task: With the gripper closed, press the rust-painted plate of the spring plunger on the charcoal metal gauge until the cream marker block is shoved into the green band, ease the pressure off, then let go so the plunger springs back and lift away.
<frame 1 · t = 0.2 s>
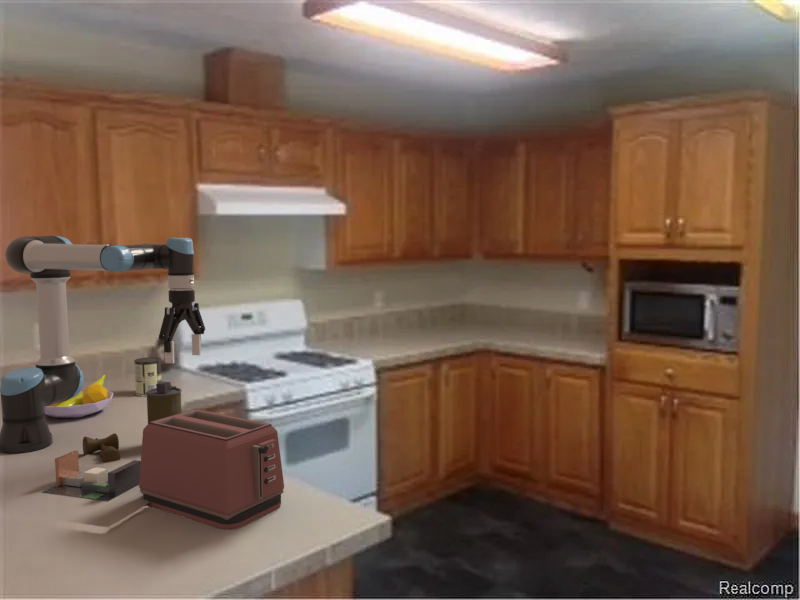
hand: (183, 359, 214), 28 cm above the countertop, tool pointing down, fingers open, 13 cm apart
fruit bowl: (77, 413, 258), on the countertop
marker: (96, 485, 182), point 1 cm above the countertop, touching gauge
kendama: (104, 457, 209), on the countertop
coffee can: (148, 394, 288), on the countertop
gauge: (96, 490, 183), on the countertop
plunger: (75, 469, 184), point 5 cm above the countertop, slide at 0.0 cm
canister: (166, 446, 220), on the countertop
toaster: (214, 505, 174), on the countertop
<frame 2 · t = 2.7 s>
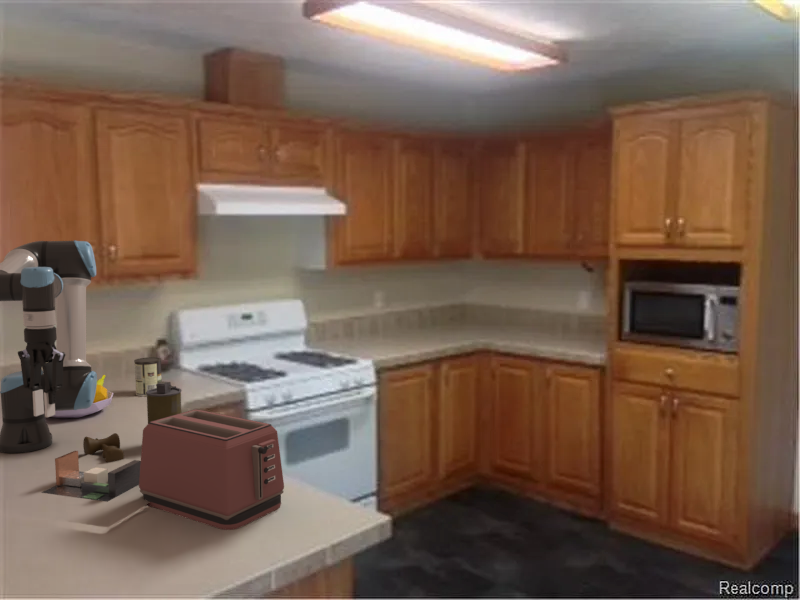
hand: (44, 415, 185), 19 cm above the countertop, tool pointing down, fingers open, 3 cm apart
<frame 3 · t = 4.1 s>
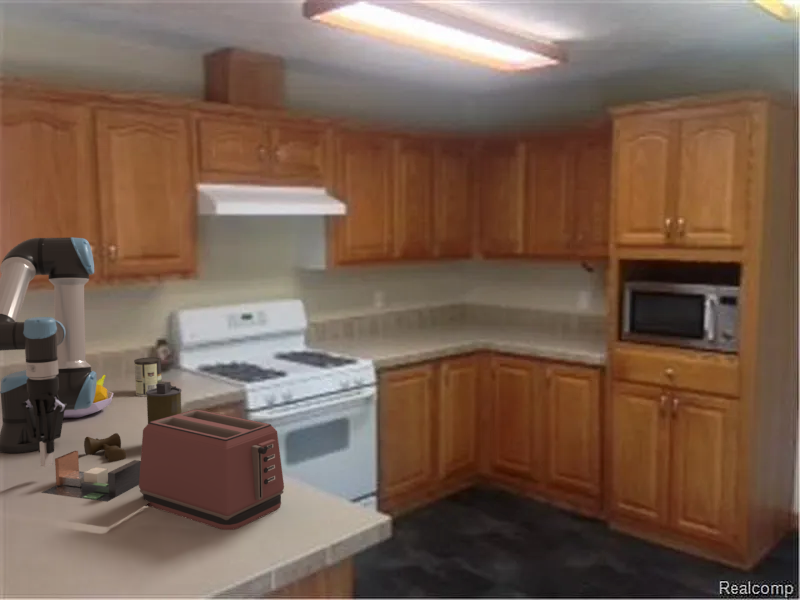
hand: (47, 464, 186), 5 cm above the countertop, tool pointing down, fingers closed
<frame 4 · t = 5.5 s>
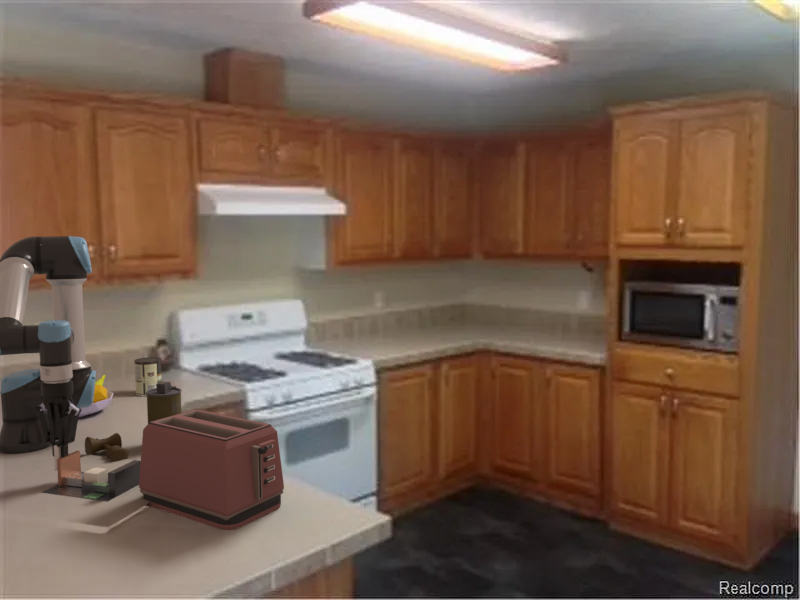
hand: (61, 468, 185), 5 cm above the countertop, tool pointing down, fingers closed
plunger: (77, 469, 184), point 5 cm above the countertop, slide at 0.6 cm, touching gripper
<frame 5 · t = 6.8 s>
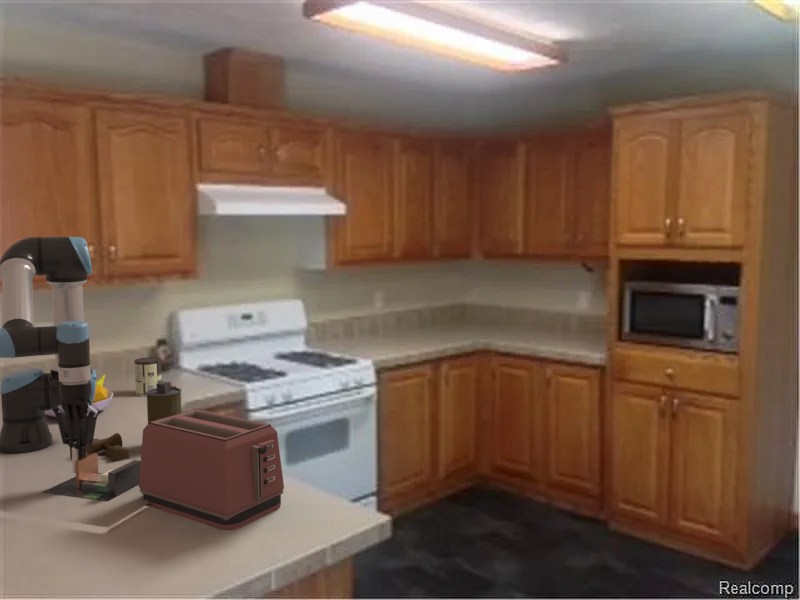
hand: (78, 471, 183), 5 cm above the countertop, tool pointing down, fingers closed
marker: (113, 487, 181), point 1 cm above the countertop, touching gauge, plunger
plunger: (95, 471, 182), point 5 cm above the countertop, slide at 6.3 cm, touching gripper, marker
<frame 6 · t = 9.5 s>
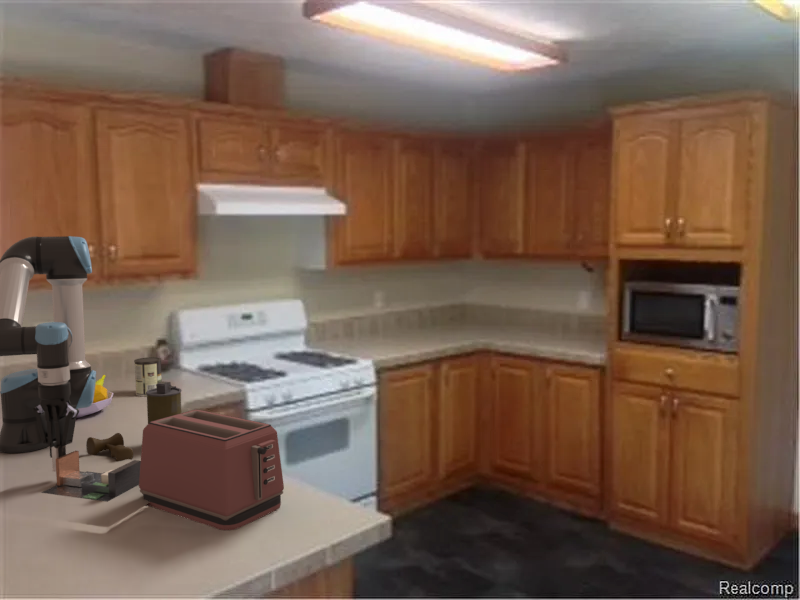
hand: (58, 469, 186), 4 cm above the countertop, tool pointing down, fingers closed
marker: (113, 487, 181), point 1 cm above the countertop, touching gauge
plunger: (76, 469, 184), point 5 cm above the countertop, slide at 0.2 cm
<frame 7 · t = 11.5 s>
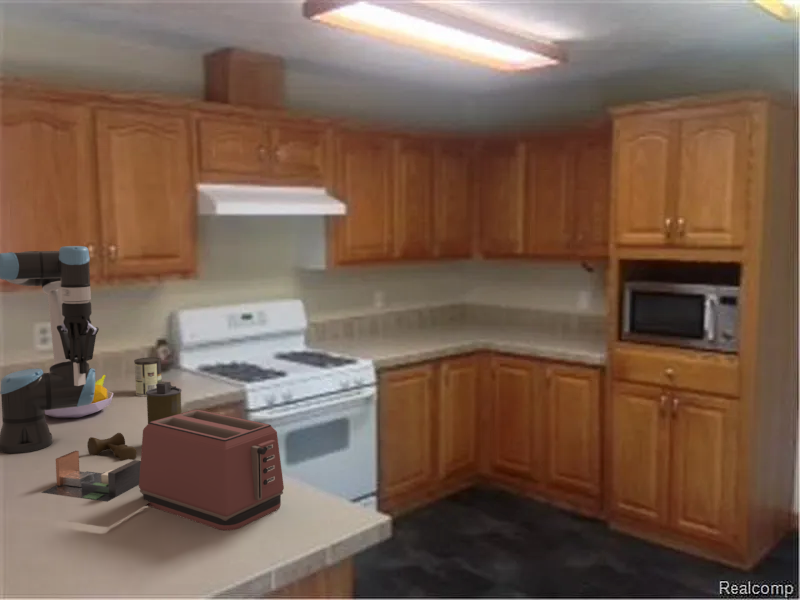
hand: (80, 384, 199), 23 cm above the countertop, tool pointing down, fingers closed
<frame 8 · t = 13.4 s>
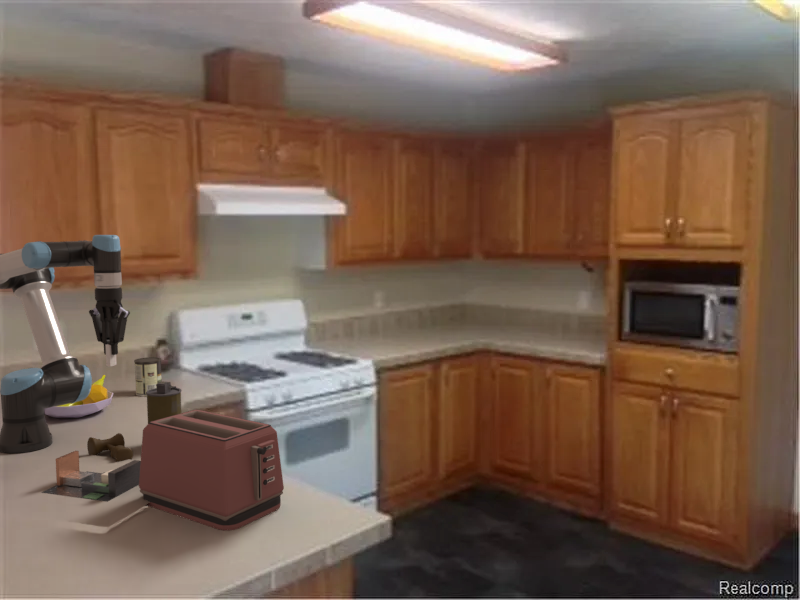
hand: (111, 365, 211), 26 cm above the countertop, tool pointing down, fingers closed
at the end: marker 0.7 cm from the target spot on the gauge, point 1.2 cm above the gauge's base; plunger slide at 0.2 cm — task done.
